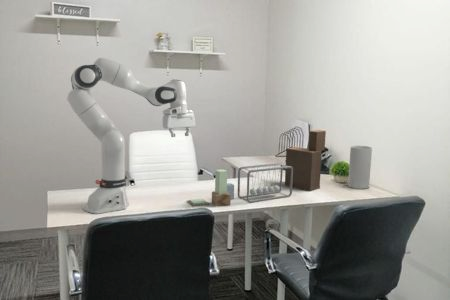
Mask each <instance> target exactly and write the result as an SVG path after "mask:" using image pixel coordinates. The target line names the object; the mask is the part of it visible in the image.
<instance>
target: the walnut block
mask: <svg viewBox="0 0 450 300" xmlns="http://www.w3.org/2000/svg"><path fill="white" fill-rule="evenodd" d="M231 201H232V200H231V195H230V194H229V193H228V192H227V194H217V193H215V190H213V191H211V203H212V204H213V206H214V207H216V206H217V207H227V206H228V207H229V206H231Z"/></svg>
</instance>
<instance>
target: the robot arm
mask: <svg viewBox="0 0 450 300" xmlns="http://www.w3.org/2000/svg"><path fill="white" fill-rule="evenodd" d="M70 81H71V87H72V90H70V92H68V94H67V97H66V98H67V99H66V100H67V102H68V104H69V105H70V107H71V108H72V111H74V113H75V115H76V116H78V118H79V119H80V120H81V122H83V124H84V125H85V126H86V128H87V129H88V130H89V131H90V133H92V134H93V136H95V137H96V138H97V140H99V142H100V143H101V173H102V174H101V175H102V178H101V180H99V179H96V180H95V181H94V182H95V184H96V185H99V186H98V187H97V188H96V189H95V190H94V191H92V193H91V194H90V195H89V196H88V198H87V204H85V205H83V206H82V209H83V211H85V212H87V213H90V214H96V215H98V214H99V215H100V214H104V213H109V212H115V211H123V210H126V209H127V207H128V206H129V205H130V203H129V201H128V197H127V196H128V195H127V189H126V187H127V178H126V168H125V167H126V165H125V164H126V161H125V159H126V155H125V154H126V151H125V150H126V149H125V148H126V139H125V137H124V135H123V132H122V131H121V130H120V128H119V127H117V125H116V124H115V123H114V122H113V121H112V119H111V118H110V117H109V116H108V115H107V114H106V112H105V111H104V110H103V108H102V106H100V105H99V103H98V102H97V101H96V100H95V99H94V98H93V96H92V94H91V89H93V87H94V88H95V86H96V85H97V84H98V82H99V81H103V82H106V83H107V84H110V85H112V86H114V87H117V88H120V89H124V90H128V91H130V92H132V93H135V94H137V95H138V96H140V97H143V98H145V99H146V100H147V102H148V103H149V104H151V105H152V106H154V107H160V106H161V107H162V106H164V105H168V104H169V106H170V107H168V108H166V109H164V110H162V114H163V116H162V128H163V129H164V130H166V129H167V130H168V131H169V133H170V136H171V138H176V133H174V130H175V129H185V130H186V131H185V132H184V136H185V137H189V135H190V132H191V128H195V127H196V124H197V123H196V118H195V112H194V111H193V110H191V109H190V110H188V104H187V87H186V83H185V82H184V81H182V80H180V79H171V80H170V81H168V82H167V83H165V84H163V85H160V86H158V87H153V86H150V85H146V84H144V83H143V82H141V81H139V80H138V79H136V78H135V76H134V73H133V71H132V70H131V69H130V68H128V67H126V66H125V65H123V64H121V63H119V62H117V61H115V60H111V59H109V58H105V57H100V58H99V57H98V58H97V59H96V60H95V61H94V62H93V64H84V65H80V66H78V67H77V68H75V69H74V70H73V73H72V74H71V77H70Z"/></svg>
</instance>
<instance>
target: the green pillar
mask: <svg viewBox="0 0 450 300" xmlns="http://www.w3.org/2000/svg"><path fill="white" fill-rule="evenodd" d="M214 174H215V176H214V177H215V179H214V180H215V181H214V182H215V183H214V191H215V193H217V194H227V183H228V171H227V170H226V169H222V168H221V169H215V171H214Z"/></svg>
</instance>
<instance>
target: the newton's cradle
mask: <svg viewBox="0 0 450 300" xmlns="http://www.w3.org/2000/svg"><path fill="white" fill-rule="evenodd" d="M256 168H257V169H256ZM286 168H291V180H290V186H289V194H286V193H282V190H283V170H285V169H286ZM241 170H244V171H245V170H246V171H248V172H247V175H246V179H247V180H246V181H247V182H246V195H242V196H241V195H240V193H241V190H240V189H241V187H240V186H241ZM276 170H279V171H278V172H280V173H279V174H278V175H277V174H275V171H276ZM266 171H267V172H268V174H271V171H273V173H272V175H275V176H274V177H272V180H271V181H273V179H274V178H275V179H274V180H276V184H275V185H274V186H273V184H272V182H269V183H270V185H269V186H268V187H267V186H264V187H262V188H261V184H262V183H259V186H258V187H257V188H256V189H255V187H252V188H251V189H250V174H252V173H255V174H257V173H259V172H261V173H264V172H266ZM268 174H267V176H266V178H268V176H269V175H268ZM276 175H277V177H276ZM257 176H258V177H257ZM257 176H255V177H254V178H255V179H254V180H256V178H258V180H262V176H261V178H260V179H259V174H257ZM279 176H280V180H277V178H279ZM251 178H252V179H251V180H252V183H253V182H254V180H253V175H252V176H251ZM266 178H265V177H263V180H264V181H263V182H264V183H265V184H267V183H268V182H267V181H268V180H265V179H266ZM292 181H293V168H292V167H291V166H286V164H282V162H276V163H268V164H267V163H266V164H258V165H257V164H256V165H247V166H246V165H245V166H241V167H239V168H238V170H237V198H239V199H243V200H246V202H248V204H251V203H259V202H266V201H272V200H279V199H284V198H289V197H291V196H292V194H293V187H292ZM278 182H279V186H278ZM255 184H256V182H254V183H253V186H255ZM273 194H275V195H276V194H280V195H279V196H274V197H266V198H259V199H253V200H252V199H251V200H250V198H253V197H254V198H255V197H259V196H267V195H273Z"/></svg>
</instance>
